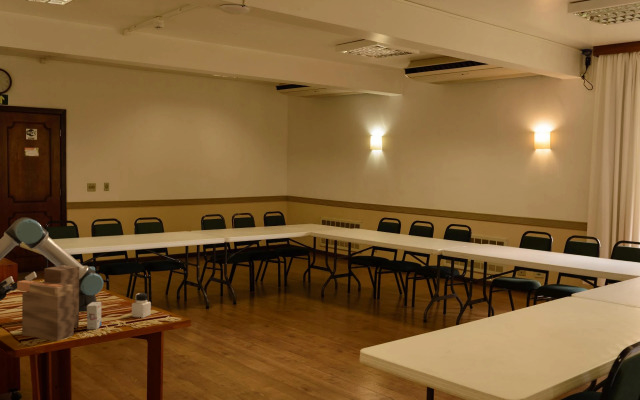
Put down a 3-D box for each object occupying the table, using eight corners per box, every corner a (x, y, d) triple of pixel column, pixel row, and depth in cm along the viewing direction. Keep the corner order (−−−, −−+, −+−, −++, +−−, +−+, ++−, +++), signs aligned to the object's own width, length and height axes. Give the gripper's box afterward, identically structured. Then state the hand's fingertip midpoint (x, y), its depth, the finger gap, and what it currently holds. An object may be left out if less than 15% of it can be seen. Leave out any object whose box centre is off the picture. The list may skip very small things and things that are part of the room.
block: (24, 288, 293) (24, 280, 293) (63, 293, 284) (63, 285, 284) (17, 289, 289) (17, 281, 289) (56, 295, 281) (57, 286, 280)
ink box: (91, 324, 307) (91, 301, 306) (101, 324, 307) (101, 301, 306) (86, 329, 298) (86, 305, 297) (96, 329, 298) (97, 305, 298)
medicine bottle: (150, 315, 330) (151, 293, 329) (142, 318, 323) (143, 295, 322) (139, 313, 332) (139, 291, 331) (131, 316, 325) (131, 294, 325)
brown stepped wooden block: (58, 324, 306) (58, 264, 304) (91, 329, 298) (92, 268, 296) (22, 335, 285) (22, 271, 283) (57, 340, 278) (57, 275, 276)
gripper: (18, 297, 308) (47, 279, 301) (-25, 307, 284) (5, 288, 277) (12, 283, 309) (41, 265, 302) (-31, 292, 285) (-2, 273, 278)
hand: (24, 276), depth 290 cm, fingers open, 13 cm apart
